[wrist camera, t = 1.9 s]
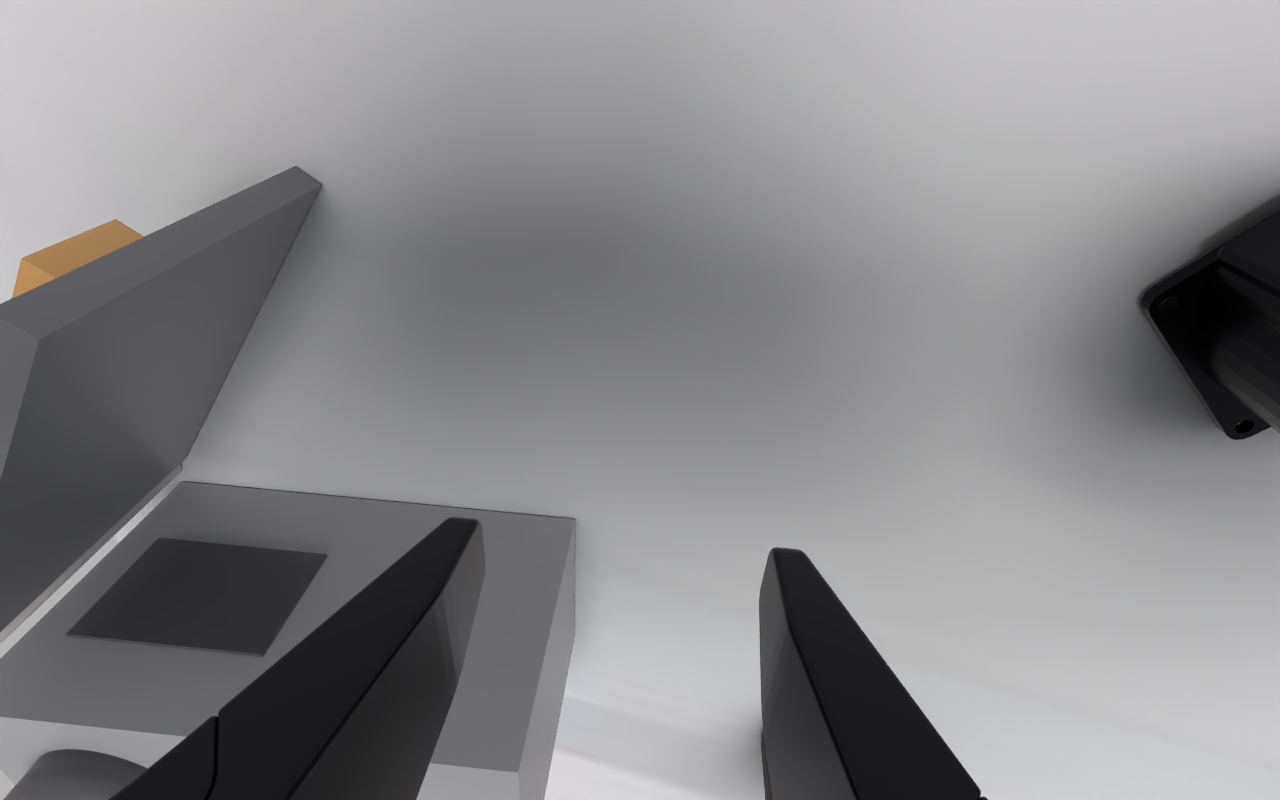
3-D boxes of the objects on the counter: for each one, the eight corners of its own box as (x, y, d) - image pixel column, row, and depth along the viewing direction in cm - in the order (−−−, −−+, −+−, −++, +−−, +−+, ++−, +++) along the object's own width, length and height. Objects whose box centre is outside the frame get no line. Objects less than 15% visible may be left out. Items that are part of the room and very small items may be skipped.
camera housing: (575, 516, 25) (506, 819, 16) (574, 634, 29) (519, 932, 20) (180, 478, 25) (-102, 753, 16) (232, 600, 29) (27, 875, 20)
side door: (178, 477, 25) (-60, 706, 17) (124, 449, 25) (-148, 673, 17) (323, 185, 19) (42, 341, 11) (254, 137, 18) (-98, 264, 10)
